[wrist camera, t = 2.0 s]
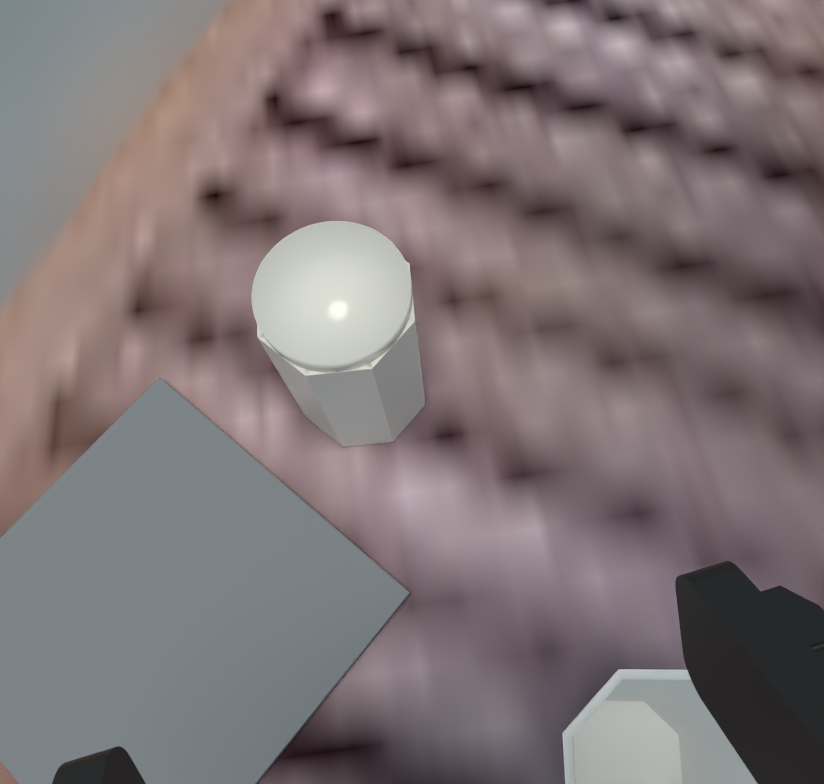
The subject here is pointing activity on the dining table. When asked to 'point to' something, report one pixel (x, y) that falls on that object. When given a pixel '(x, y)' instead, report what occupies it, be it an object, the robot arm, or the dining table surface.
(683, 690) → the cup
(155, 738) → the rubber mat
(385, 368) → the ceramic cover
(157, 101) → the dining table surface
